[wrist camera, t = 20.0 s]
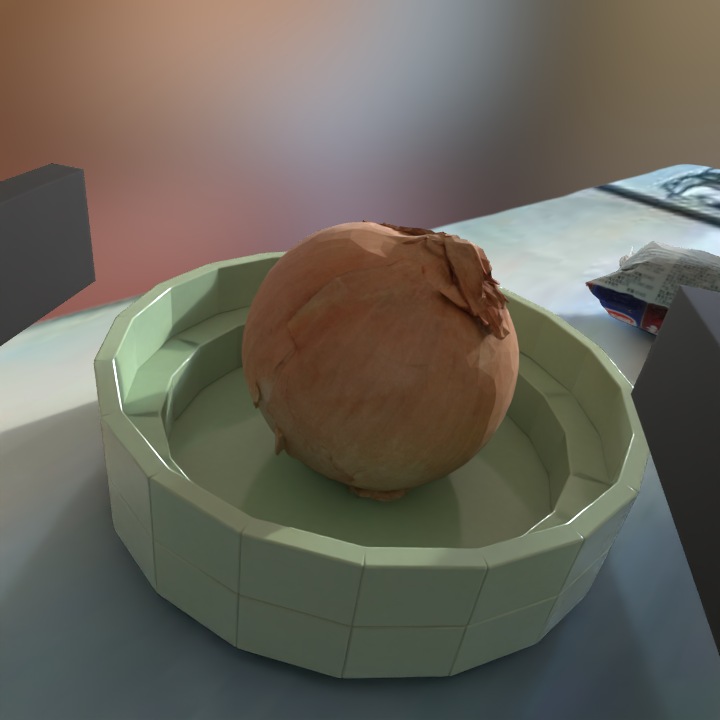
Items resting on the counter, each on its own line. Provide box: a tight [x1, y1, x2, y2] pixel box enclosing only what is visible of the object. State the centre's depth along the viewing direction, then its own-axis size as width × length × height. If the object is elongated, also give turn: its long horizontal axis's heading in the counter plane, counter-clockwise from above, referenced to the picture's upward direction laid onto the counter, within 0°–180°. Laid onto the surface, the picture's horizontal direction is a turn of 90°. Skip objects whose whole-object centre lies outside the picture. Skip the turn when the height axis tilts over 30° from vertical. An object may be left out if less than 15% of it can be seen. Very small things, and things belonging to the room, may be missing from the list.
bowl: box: [94, 252, 650, 678], centre depth 22 cm, size 18×18×5 cm
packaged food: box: [585, 241, 720, 335], centre depth 36 cm, size 9×12×5 cm
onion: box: [241, 220, 519, 501], centre depth 21 cm, size 10×9×10 cm
